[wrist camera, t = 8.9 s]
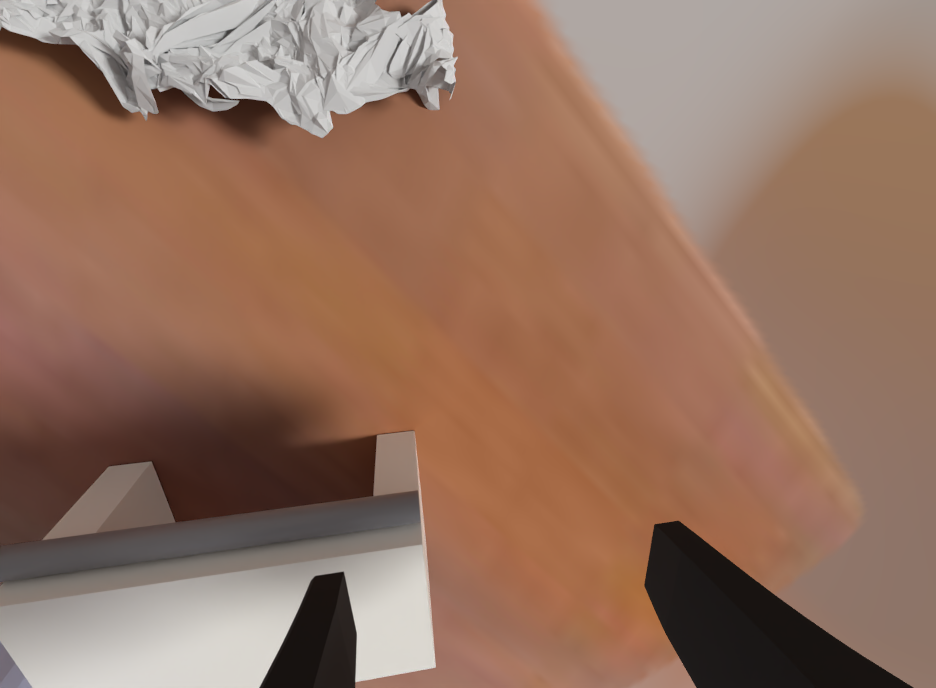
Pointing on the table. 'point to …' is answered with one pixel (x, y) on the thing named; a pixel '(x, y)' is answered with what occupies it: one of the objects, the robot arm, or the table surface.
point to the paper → (252, 51)
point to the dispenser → (214, 583)
